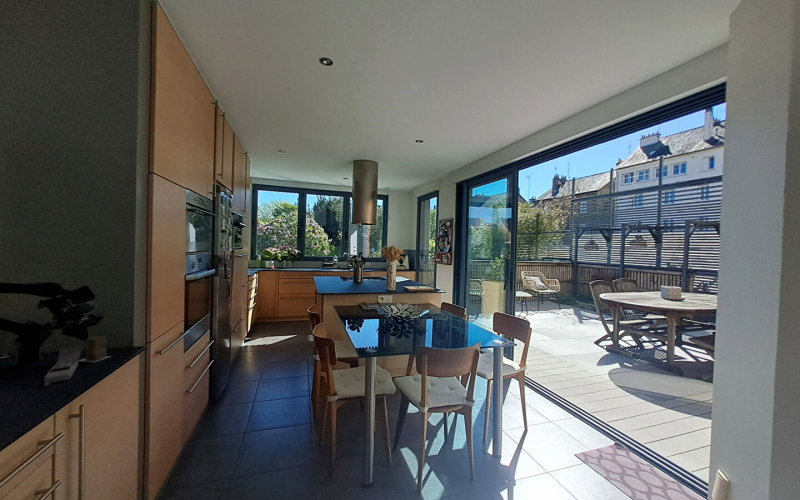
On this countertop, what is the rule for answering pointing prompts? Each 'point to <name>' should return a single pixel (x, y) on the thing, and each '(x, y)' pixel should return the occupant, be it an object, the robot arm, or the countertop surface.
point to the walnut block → (95, 348)
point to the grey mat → (93, 360)
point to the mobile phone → (64, 365)
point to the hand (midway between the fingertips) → (87, 340)
